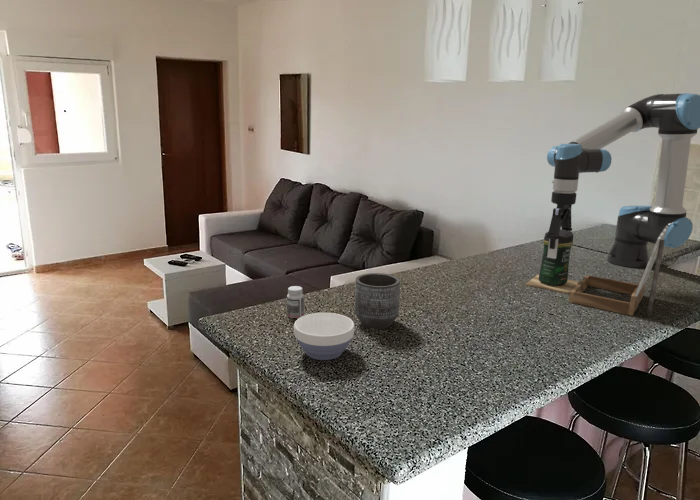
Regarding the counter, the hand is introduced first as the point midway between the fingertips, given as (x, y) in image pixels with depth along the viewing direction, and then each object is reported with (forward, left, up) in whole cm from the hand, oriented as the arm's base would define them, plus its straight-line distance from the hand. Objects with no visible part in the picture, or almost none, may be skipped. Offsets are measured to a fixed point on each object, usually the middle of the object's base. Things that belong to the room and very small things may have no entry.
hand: (557, 253), depth 176 cm
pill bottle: (+77, -50, -11) cm, 93 cm away
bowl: (+90, -29, -11) cm, 96 cm away
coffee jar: (0, 0, -11) cm, 11 cm away
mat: (0, 0, -11) cm, 11 cm away
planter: (+67, -29, -11) cm, 74 cm away
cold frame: (+4, +20, -11) cm, 23 cm away
